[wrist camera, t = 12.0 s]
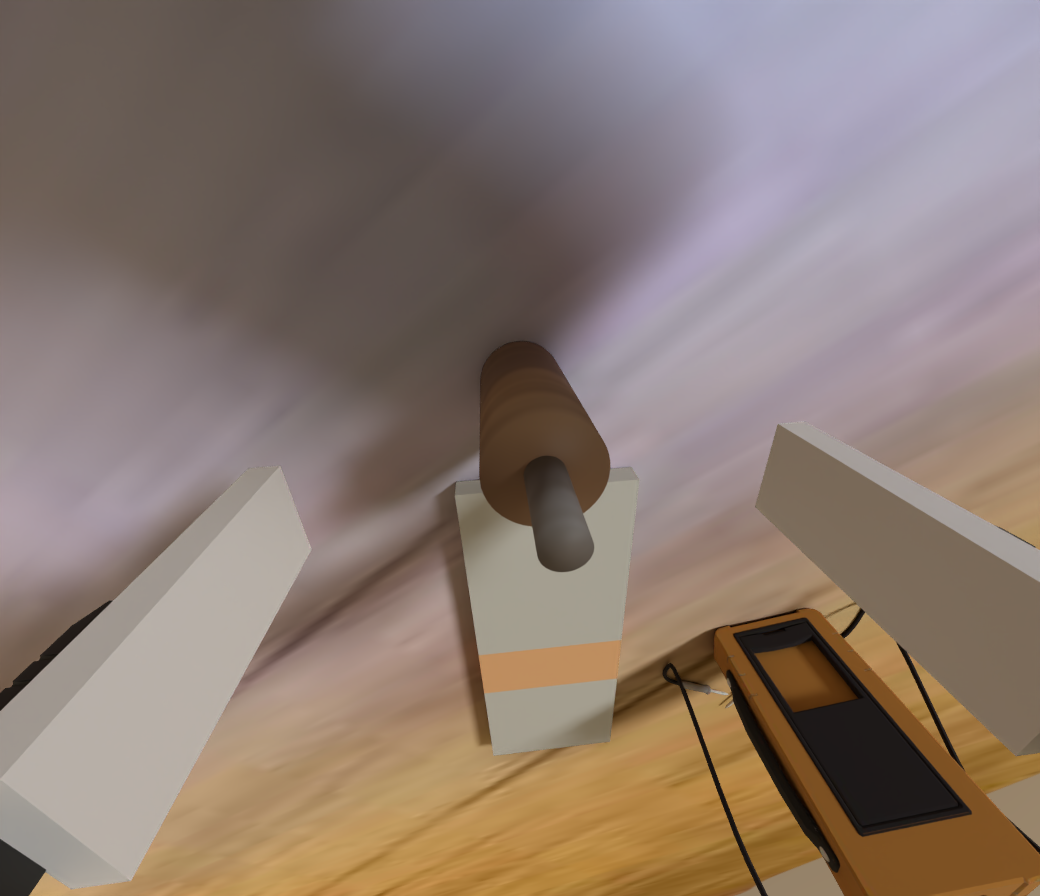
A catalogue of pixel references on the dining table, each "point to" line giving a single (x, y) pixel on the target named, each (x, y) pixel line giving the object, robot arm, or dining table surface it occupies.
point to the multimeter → (862, 767)
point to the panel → (548, 621)
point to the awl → (540, 453)
